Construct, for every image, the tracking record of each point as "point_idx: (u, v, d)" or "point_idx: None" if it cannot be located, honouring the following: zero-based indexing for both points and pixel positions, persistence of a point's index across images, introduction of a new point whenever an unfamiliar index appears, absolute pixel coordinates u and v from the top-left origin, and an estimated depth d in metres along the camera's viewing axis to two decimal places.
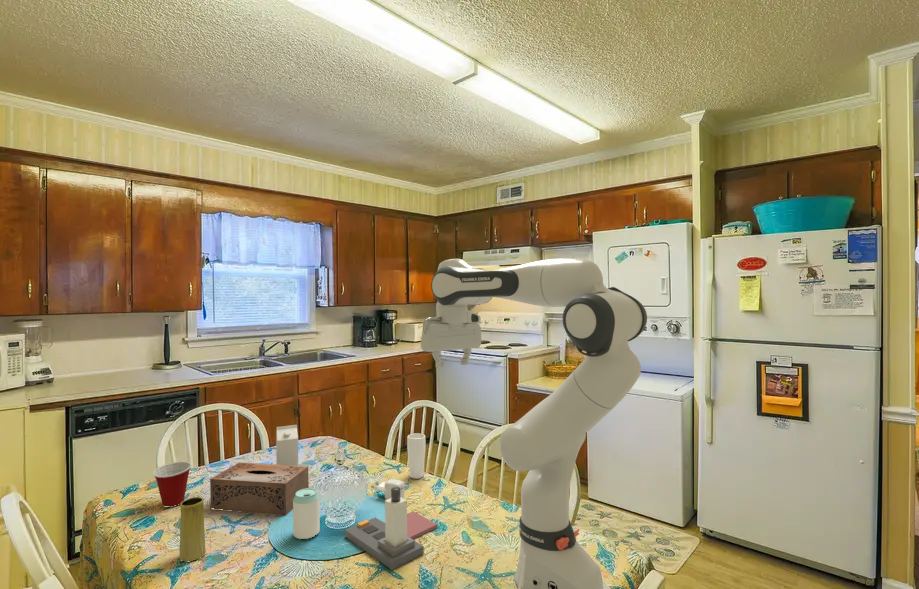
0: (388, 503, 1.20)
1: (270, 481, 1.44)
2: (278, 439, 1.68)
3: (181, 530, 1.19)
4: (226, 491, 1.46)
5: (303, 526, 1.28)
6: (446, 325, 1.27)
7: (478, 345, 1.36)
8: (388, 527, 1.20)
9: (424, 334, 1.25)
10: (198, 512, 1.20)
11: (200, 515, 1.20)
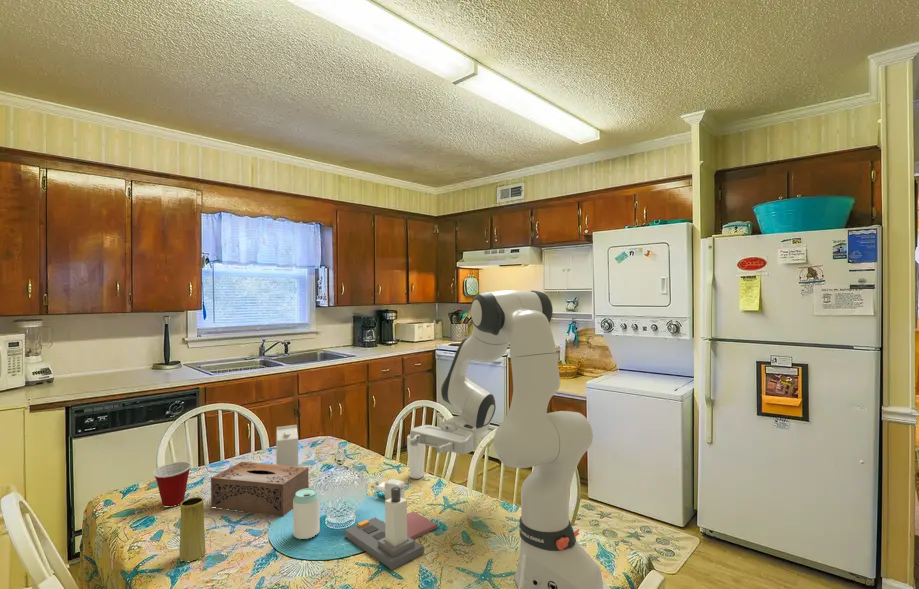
0: (388, 503, 1.20)
1: (268, 482, 1.44)
2: (278, 439, 1.68)
3: (181, 530, 1.19)
4: (226, 490, 1.46)
5: (303, 526, 1.28)
6: (439, 427, 1.42)
7: (461, 440, 1.30)
8: (388, 527, 1.20)
9: None
10: (198, 512, 1.20)
11: (200, 515, 1.20)
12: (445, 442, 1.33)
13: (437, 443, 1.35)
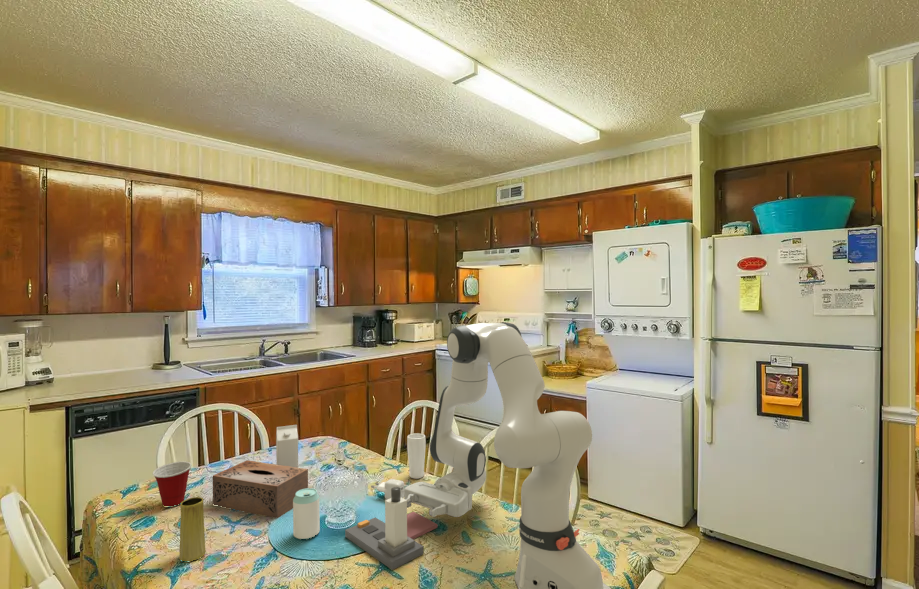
0: (388, 503, 1.20)
1: (264, 482, 1.43)
2: (278, 439, 1.68)
3: (181, 530, 1.19)
4: (226, 489, 1.47)
5: (303, 526, 1.28)
6: (433, 485, 1.39)
7: (455, 503, 1.27)
8: (388, 527, 1.20)
9: None
10: (198, 512, 1.20)
11: (200, 515, 1.20)
12: (439, 503, 1.30)
13: (431, 504, 1.32)
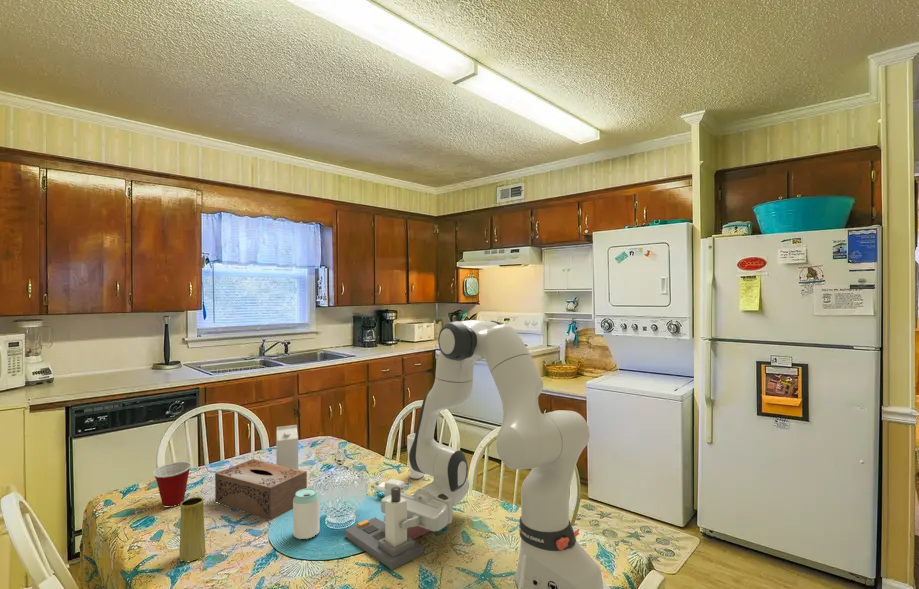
0: (388, 503, 1.20)
1: (260, 483, 1.43)
2: (278, 439, 1.68)
3: (181, 530, 1.19)
4: (226, 487, 1.49)
5: (303, 526, 1.28)
6: (412, 496, 1.32)
7: (433, 516, 1.19)
8: (388, 527, 1.20)
9: None
10: (198, 512, 1.20)
11: (200, 515, 1.20)
12: None
13: (408, 517, 1.24)
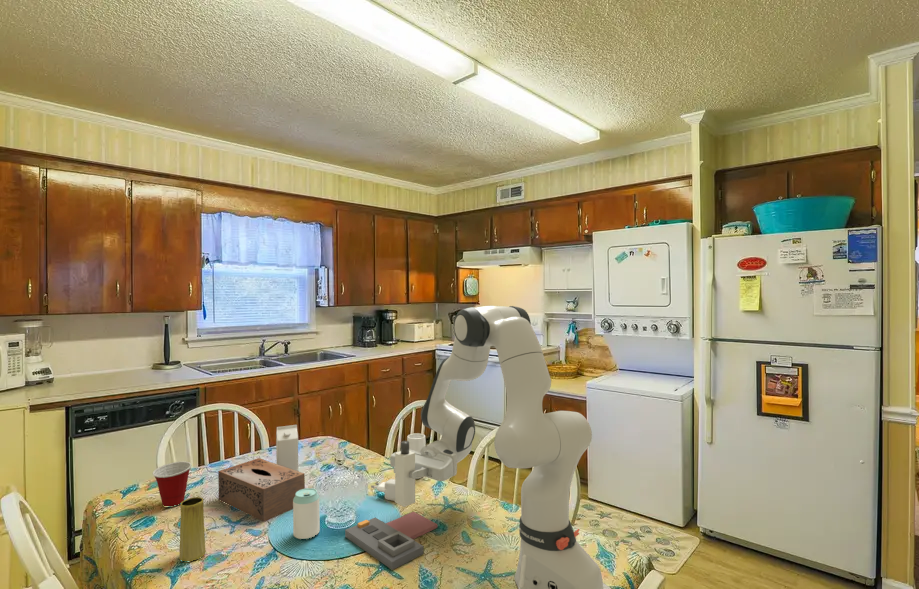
0: (398, 455, 1.29)
1: (255, 484, 1.42)
2: (278, 439, 1.68)
3: (181, 530, 1.19)
4: (227, 485, 1.50)
5: (303, 526, 1.28)
6: (419, 452, 1.41)
7: (439, 467, 1.29)
8: (398, 478, 1.30)
9: None
10: (198, 512, 1.20)
11: (200, 515, 1.20)
12: None
13: (416, 469, 1.34)
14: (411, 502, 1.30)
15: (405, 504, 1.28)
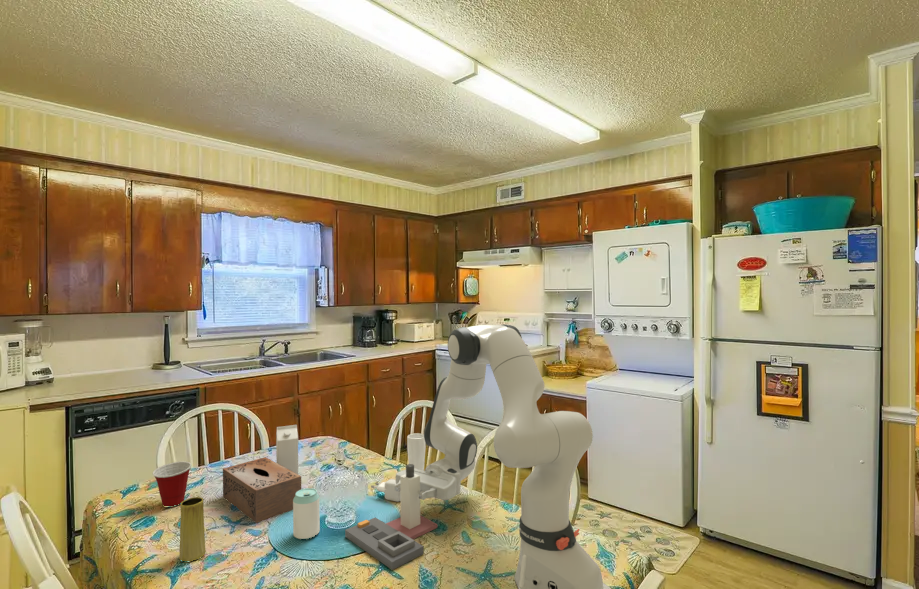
0: (403, 478, 1.33)
1: (250, 484, 1.42)
2: (278, 439, 1.68)
3: (181, 530, 1.19)
4: (229, 484, 1.51)
5: (303, 526, 1.28)
6: (424, 471, 1.45)
7: (443, 486, 1.33)
8: (404, 500, 1.33)
9: None
10: (198, 512, 1.20)
11: (200, 515, 1.20)
12: (428, 487, 1.36)
13: (421, 488, 1.38)
14: (416, 524, 1.33)
15: (411, 526, 1.32)
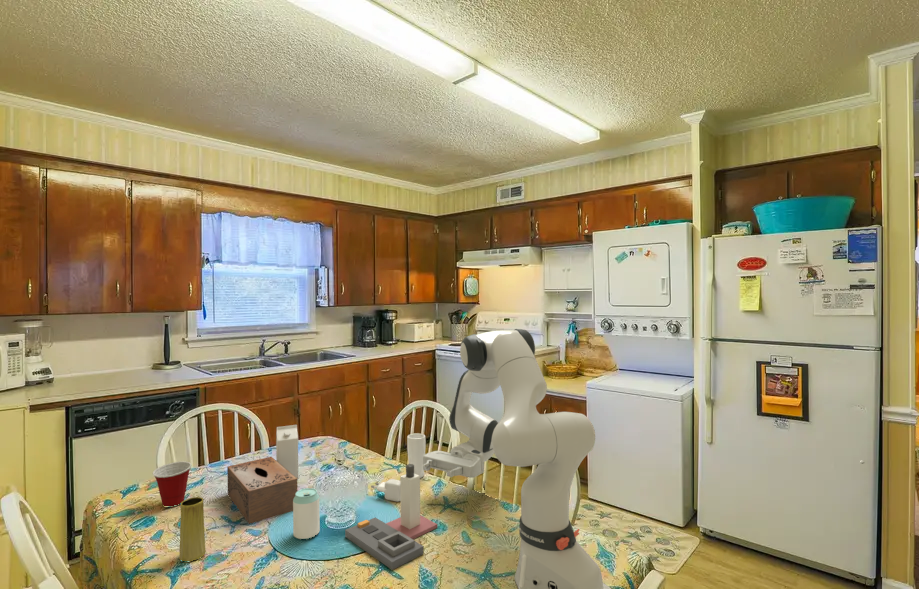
0: (403, 478, 1.33)
1: (246, 484, 1.42)
2: (278, 439, 1.68)
3: (181, 530, 1.19)
4: (231, 482, 1.53)
5: (303, 526, 1.28)
6: None
7: (469, 465, 1.43)
8: (404, 500, 1.33)
9: None
10: (198, 512, 1.20)
11: (200, 515, 1.20)
12: (455, 466, 1.46)
13: (447, 467, 1.48)
14: (416, 524, 1.33)
15: (411, 526, 1.32)
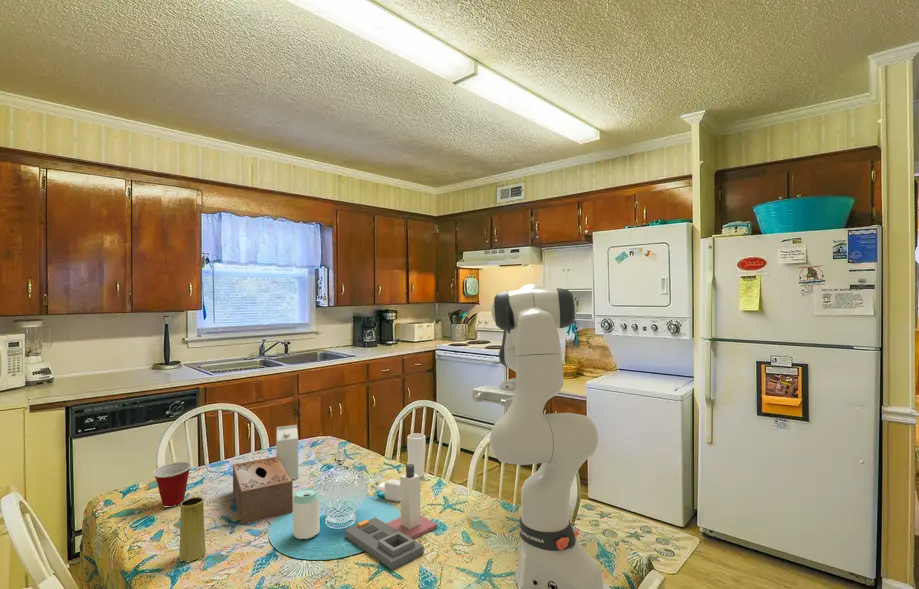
0: (403, 478, 1.33)
1: (242, 484, 1.42)
2: (278, 439, 1.68)
3: (181, 530, 1.19)
4: (234, 480, 1.54)
5: (303, 526, 1.28)
6: (498, 387, 1.52)
7: None
8: (404, 500, 1.33)
9: None
10: (198, 512, 1.20)
11: (200, 515, 1.20)
12: (507, 398, 1.43)
13: (499, 399, 1.44)
14: (416, 524, 1.33)
15: (411, 526, 1.32)
